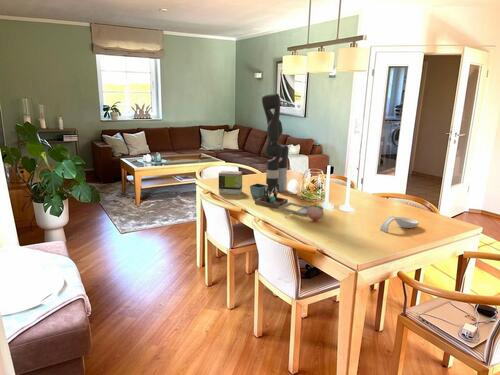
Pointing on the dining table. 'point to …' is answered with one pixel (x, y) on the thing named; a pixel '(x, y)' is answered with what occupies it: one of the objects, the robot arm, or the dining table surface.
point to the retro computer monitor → (230, 182)
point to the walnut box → (272, 205)
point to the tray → (300, 212)
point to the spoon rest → (399, 223)
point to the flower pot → (257, 190)
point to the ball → (272, 199)
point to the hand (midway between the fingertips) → (271, 201)
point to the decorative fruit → (315, 212)
